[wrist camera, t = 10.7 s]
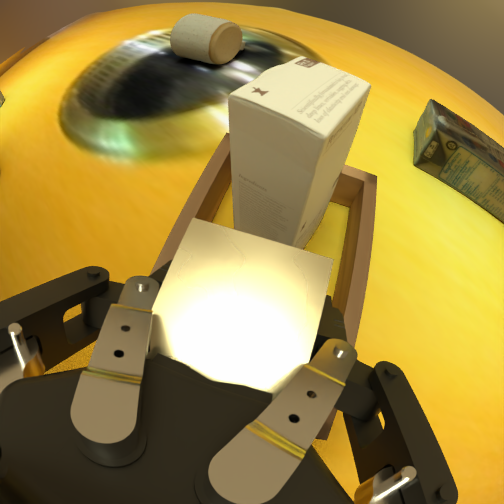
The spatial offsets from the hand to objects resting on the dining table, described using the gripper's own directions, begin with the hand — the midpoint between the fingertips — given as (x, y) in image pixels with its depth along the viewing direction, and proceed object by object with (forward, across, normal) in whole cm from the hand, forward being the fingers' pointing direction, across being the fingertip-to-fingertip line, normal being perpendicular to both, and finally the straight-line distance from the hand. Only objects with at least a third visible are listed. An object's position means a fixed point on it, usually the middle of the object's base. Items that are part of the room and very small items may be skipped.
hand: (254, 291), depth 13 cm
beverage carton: (+20, -21, -12) cm, 31 cm away
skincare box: (+9, 0, -1) cm, 9 cm away
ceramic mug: (+27, +17, -20) cm, 38 cm away
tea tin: (+2, 0, +5) cm, 6 cm away
